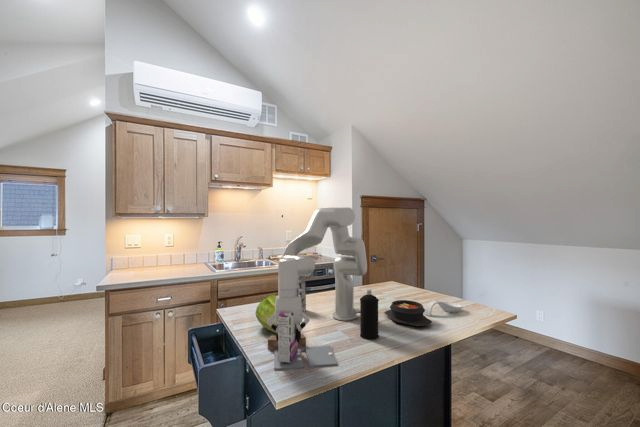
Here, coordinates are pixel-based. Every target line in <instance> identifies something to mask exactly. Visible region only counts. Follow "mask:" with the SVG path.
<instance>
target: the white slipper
mask: <svg viewBox="0 0 640 427" xmlns="http://www.w3.org/2000/svg"><path fill="white" fill-rule="evenodd" d="M436 305H438V306H439V307H440V308H441V309H442V310H443V311H444V312H446V313H449V314H450V313H452V314H455V313H457V312H459V311H461V310H462V308H463V305H461V304H458V303H456V302H449V301H438V300H435V299H433V300H430V301H429V302H428V303H427V305H426V306H425V307H424V309H425V312H424V313H423V315H424V316H425V315H426V316H427V317H432V309H433V307H434V306H436Z"/></svg>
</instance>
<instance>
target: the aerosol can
mask: <svg viewBox="0 0 640 427" xmlns="http://www.w3.org/2000/svg"><path fill="white" fill-rule="evenodd" d="M359 302H360V304H359V305H360V308H359V309H360V313H359V314H360V316H359V317H360V319H359V320H360V322H359V324H360V328H359V329H360V332H359V333H360V334H359V336H360V338H361V339H365V340H369V341H373V340H377V339H379V337H380V335H379V302H380V300H379V299H378V297H376V295H374V294H372V289H366V294H364V295H363V296H361V297H360V299H359Z"/></svg>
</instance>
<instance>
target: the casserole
mask: <svg viewBox="0 0 640 427" xmlns="http://www.w3.org/2000/svg"><path fill="white" fill-rule="evenodd" d="M424 312H425V307H424V305H423V304H422V303H420V302H418V301H413V300H408V299H398V300H397V299H396V300H394V301H392V302H391V305H390V306H389V309H388V310H386V311H384V312H383V313H384V314H385V315H386V316H387V317H388V318H389V319H391V320H392V321H394V322H397V323H399V324H403V325H408V326H409V325H410V326H415V327H425V326H429V325H431V324H432V323H433V320H431V319H430V318H428V317H427V316H425V314H424Z"/></svg>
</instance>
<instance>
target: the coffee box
mask: <svg viewBox="0 0 640 427" xmlns="http://www.w3.org/2000/svg"><path fill="white" fill-rule="evenodd" d="M306 284H307V283H306V281H305V280H299V288H301V289H303V292H301V293H300V295H301V301H302V312H303V313H304V312H305V311H307V304H306V303H307V299H306V298H307V295H306V294H307V293H306V292H307V287H306V286H307V285H306Z"/></svg>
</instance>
